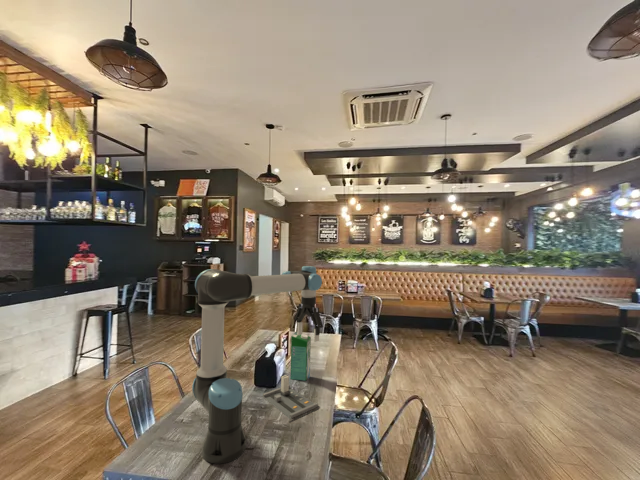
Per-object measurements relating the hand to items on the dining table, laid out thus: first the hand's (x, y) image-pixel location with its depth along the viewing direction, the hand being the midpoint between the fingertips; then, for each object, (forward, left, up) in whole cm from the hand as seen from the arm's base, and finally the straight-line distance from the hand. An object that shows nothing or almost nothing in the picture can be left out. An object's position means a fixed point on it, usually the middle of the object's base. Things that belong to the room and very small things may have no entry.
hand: (307, 337), depth 151 cm
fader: (-11, +4, -26) cm, 29 cm away
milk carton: (+7, +15, -28) cm, 32 cm away
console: (-13, -3, -28) cm, 31 cm away
